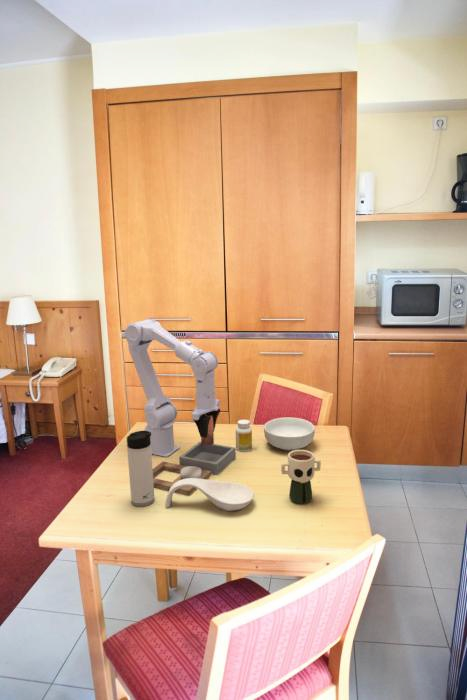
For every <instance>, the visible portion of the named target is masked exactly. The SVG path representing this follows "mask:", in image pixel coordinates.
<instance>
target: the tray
mask: <svg viewBox="0 0 467 700" xmlns="http://www.w3.org/2000/svg"><path fill="white" fill-rule="evenodd" d="M236 450H237V449H236V447H233V446H227V445H223V444H217V443H214V444H212V445H202V444H201V440H200V441H198V442H197V443H196V444H194V445H193V446H192V447H190V448H189V449H188V450H187V451H185V452H183V454H181V455H180V456H179V465H183V466H196V467H199V468H200V469H203V470H208V471H211V475H215V476H218V475H219V474H220V473H221V472H222V471H223V470H224V469H226V468H227V467H228V466H229V465H230V464H231V463H232V462H233V461H234V460H235V459H236V458H237V456H236V455H237V454H236V453H237V451H236Z"/></svg>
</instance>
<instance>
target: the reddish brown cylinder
mask: <svg viewBox="0 0 467 700" xmlns="http://www.w3.org/2000/svg"><path fill="white" fill-rule="evenodd" d="M205 415H206V416H207V417H211V419H210V421H209V425H208V435H207V437H206V438H205V437H200V441H201V444H202V445H212V444H215V434H214V432H215V430H214V431H213V415H212V414H209V413H205Z"/></svg>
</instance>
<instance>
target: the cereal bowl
mask: <svg viewBox="0 0 467 700" xmlns="http://www.w3.org/2000/svg"><path fill="white" fill-rule="evenodd" d="M315 429H316V427H315V425H314V423H312V422H311V421H309V420H307V419H303V418H300V417H291V416H290V417H277V418H274V419H270V420H268V421H267V422H266V423H265V424H264V427H263V433H264V438H265V439H266V442H268V443H269V444H270V445H272V446H273V447H275V448H278V449H281V450H283V451H294V450H301V449H303V448H305V447H306V446H308V445H310V444H311V443H312V442H313V440H314V438H315V433H316V432H315Z"/></svg>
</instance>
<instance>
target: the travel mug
mask: <svg viewBox="0 0 467 700" xmlns="http://www.w3.org/2000/svg"><path fill="white" fill-rule="evenodd" d="M150 436H151V432H149V431H144V430H139V431H138V430H137V431H134V432H131V433H129V435H128V436H126V448H127V450H126V451H127V462H128V476H129V489H130V499H131V504H132V505H133V506H135V507H142V508H143V507H147V506H148V507H149V506H150V505H152V504H153V503H154V501H155V488H154V484H153V468H154V467H153V457H152V455H153V454H152V453H151V441H150Z"/></svg>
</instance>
